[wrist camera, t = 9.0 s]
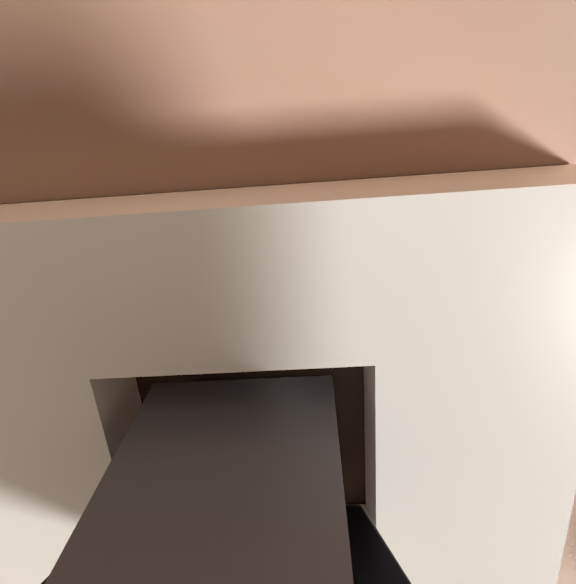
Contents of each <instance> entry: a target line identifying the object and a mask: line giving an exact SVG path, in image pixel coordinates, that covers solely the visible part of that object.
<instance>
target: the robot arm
mask: <svg viewBox="0 0 576 584" xmlns="http://www.w3.org/2000/svg"><path fill="white" fill-rule="evenodd" d="M346 514H347V524H348V534H349V543H350V553H351V563H352V572H353V582H354V584H411V582H410V580H409V579H408V577H407V576H406V574H405V572H404V571H403V569H402V568H401V566H400V565H399V563H398V561H397V560H396V558H395V557H394V555H393V553H392V552H391V550H390V549H389V547H388V545H387V544H386V542H385V541H384V539H383V538H382V536H381V534H380V533H379V531H378V530H377V528H376V526H375V525H374V523H373V522H372V520H371V519H370V517H369V515H368V514H367V512H366V511H365V509H364V508H363V506H362V505H360V504H349V505H346ZM48 577H49V576H48ZM48 577H47V578H48ZM47 578H46V579H45V580H44V581H43V582H42V583H41V584H45V582H46V580H47Z"/></svg>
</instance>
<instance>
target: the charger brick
mask: <svg viewBox="0 0 576 584" xmlns="http://www.w3.org/2000/svg"><path fill="white" fill-rule="evenodd" d="M45 584H354V582H353V572H352V563H351V553H350V543H349V534H348V524H347V514H346V504H345V495H344V485H343V475H342V465H341V456H340V446H339V436H338V427H337V417H336V407H335V397H334V388H333V378H332V375H326V376H304V377H282V378H260V379H238V380H216V381H194V382H172V383H153V384H152V386H151V388H150V390H149V392H148V394H147V395H146V397H145V399H144V401H143V403H142V405H141V407H140V408H139V410H138V412H137V414H136V416H135V418H134V419H133V421H132V423H131V425H130V427H129V429H128V431H127V432H126V434H125V436H124V438H123V440H122V442H121V444H120V445H119V447H118V449H117V451H116V453H115V455H114V456H113V458H112V460H111V462H110V464H109V466H108V468H107V469H106V471H105V473H104V475H103V477H102V479H101V480H100V482H99V484H98V486H97V488H96V490H95V492H94V493H93V495H92V497H91V499H90V501H89V503H88V505H87V506H86V508H85V510H84V512H83V514H82V516H81V517H80V519H79V521H78V523H77V525H76V527H75V529H74V530H73V532H72V534H71V536H70V538H69V540H68V541H67V543H66V545H65V547H64V549H63V551H62V553H61V554H60V556H59V558H58V560H57V562H56V564H55V566H54V567H53V569H52V571H51V573H50V575H49V577H48V578H47V580H46V582H45Z"/></svg>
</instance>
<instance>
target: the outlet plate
mask: <svg viewBox="0 0 576 584" xmlns="http://www.w3.org/2000/svg"><path fill="white" fill-rule="evenodd" d="M359 366H364V420H365V483H366V504H360V505H362V506H363V508H364V509H365V511H366V512H367V514H368V515H369V517H370V519H371V520H372V522H373V523H374V525H375V526H376V528H377V530H378V531H379V533H380V534H381V536H382V538H383V539H384V541H385V542H386V544H387V545H388V547H389V549H390V550H391V552H392V553H393V555H394V557H395V558H396V560H397V561H398V563H399V565H400V566H401V568H402V569H403V571H404V572H405V574H406V576H407V577H408V579H409V580H410V582H411V584H557V580H558V575H559V571H560V566H561V561H562V556H563V551H564V546H565V541H566V536H567V532H568V527H569V522H570V517H571V512H572V507H573V502H574V497H575V493H576V165H574V164H569V165H555V166H540V167H526V168H512V169H498V170H484V171H470V172H455V173H441V174H427V175H413V176H399V177H384V178H370V179H356V180H342V181H328V182H313V183H299V184H285V185H271V186H257V187H243V188H228V189H214V190H200V191H186V192H172V193H157V194H143V195H129V196H115V197H101V198H86V199H72V200H58V201H44V202H30V203H16V204H1V205H0V584H41V583H42V582H43V581H44V580H45V579H46V578H47V577H48V576H49V575H50V573H51V571H52V569H53V567H54V566H55V564H56V562H57V560H58V558H59V556H60V554H61V553H62V551H63V549H64V547H65V545H66V543H67V541H68V540H69V538H70V536H71V534H72V532H73V530H74V529H75V527H76V525H77V523H78V521H79V519H80V517H81V516H82V514H83V512H84V510H85V508H86V506H87V505H88V503H89V501H90V499H91V497H92V495H93V493H94V492H95V490H96V488H97V486H98V484H99V482H100V480H101V479H102V477H103V475H104V473H105V471H106V469H107V468H108V466H109V464H110V462H111V460H112V458H113V456H114V455H115V453H116V451H117V449H118V447H119V445H120V444H121V442H122V440H123V438H124V436H125V434H126V432H127V431H128V429H129V427H130V425H131V423H132V421H133V419H134V418H135V416H136V414H137V412H138V410H139V408H140V407H141V405H142V403H141V399H140V394H139V390H138V386H137V381H136V377H148V376H169V375H190V374H211V373H233V372H254V371H275V370H296V369H317V368H338V367H359ZM346 505H349V504H346Z"/></svg>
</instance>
